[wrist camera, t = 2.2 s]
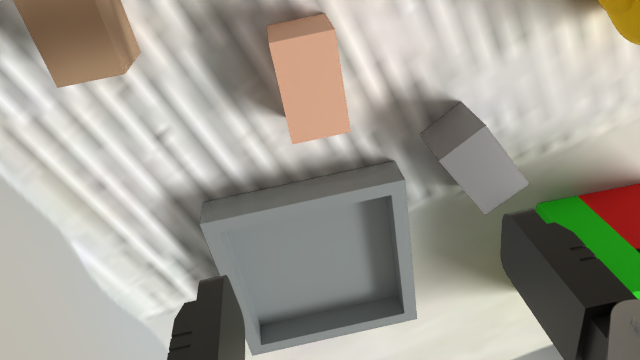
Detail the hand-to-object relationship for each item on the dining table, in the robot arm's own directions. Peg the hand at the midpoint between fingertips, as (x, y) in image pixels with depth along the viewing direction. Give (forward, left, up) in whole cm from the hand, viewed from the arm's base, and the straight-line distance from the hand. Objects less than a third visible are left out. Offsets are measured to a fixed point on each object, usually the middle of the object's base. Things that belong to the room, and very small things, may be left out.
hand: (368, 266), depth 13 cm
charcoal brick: (+8, +10, -18) cm, 22 cm away
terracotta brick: (0, 0, -18) cm, 18 cm away
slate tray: (+15, -2, -18) cm, 24 cm away
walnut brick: (-6, -11, -18) cm, 22 cm away
